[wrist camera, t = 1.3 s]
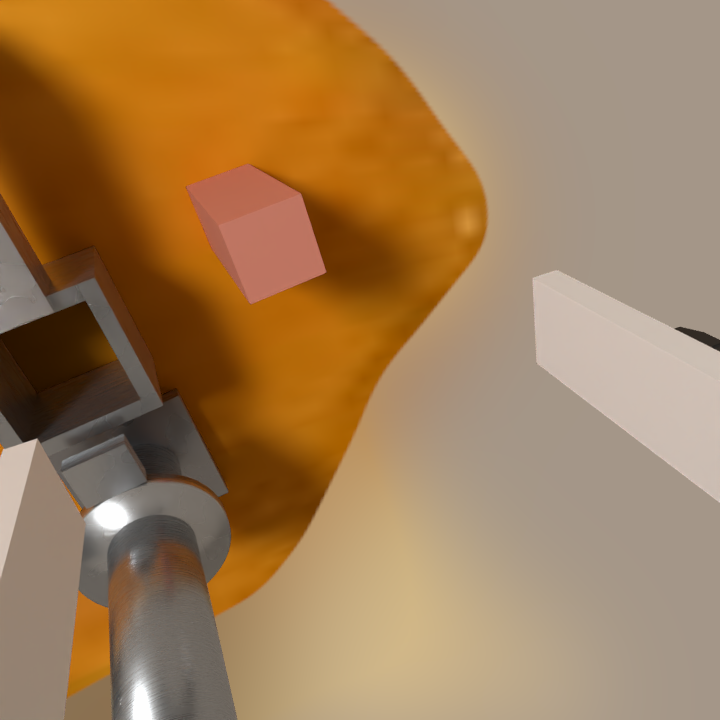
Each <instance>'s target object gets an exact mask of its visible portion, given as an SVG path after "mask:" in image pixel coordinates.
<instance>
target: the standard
mask: <svg viewBox="0 0 720 720" xmlns="http://www.w3.org/2000/svg"><path fill="white" fill-rule="evenodd" d="M161 397H162V401H163V406H161V407H159V408H157V409H154V410H152V411H150V412H148V413H145V414H143V415H141V416H138V417H136V418H134V419H132V420H129V421H127V422H125V423H123V424H120V425H118V426H116V427H114V428H111V429H109V430H107V431H104V432H102V433H100V434H98V435H95V436H93V437H91V438H89V439H86V440H84V441H82V442H79V443H77V444H75V445H73V446H70V447H68V448H66V449H64V450H61V451H59V452H57V453H54V454H52V455H50V456H48V458H49V460H50V462H51V463H52V465H53V467H54V469H55V470H56V472H57V474H58V475H59V477H60V478H61V479H62V481H63V482H64V484H65V485H66V486H67V488H68V489H69V491H70V492H71V494H72V495H73V496H74V498H75V499H76V501H77V502H78V504H79V505H80V506H81V508H82V510H81V512H80V514H81V516H82V518H83V520H84V522H85V523H86V525H85V534H84V543H83V552H82V561H81V570H80V579H79V588H78V589H79V591H80V592H81V593H82V594H83V595H85V596H86V597H87V598H89V599H90V600H92V601H94V602H95V603H97V604H100V605H102V606H105V607H108V608H109V639H110V672H111V704H112V720H237V716H236V712H235V707H234V703H233V698H232V694H231V689H230V685H229V681H228V676H227V672H226V667H225V663H224V659H223V654H222V650H221V645H220V641H219V637H218V632H217V627H216V623H215V618H214V614H213V610H212V605H211V601H210V596H209V592H208V587H207V583H208V582H209V581H210V580H211V579H212V578H213V577H214V576H215V574H216V573H217V572H218V570H219V569H220V568H221V566H222V564H223V563H224V561H225V559H226V556H227V554H228V551H229V547H230V541H231V530H230V525H229V521H228V518H227V514H226V511H225V509H224V506H223V504H222V502H221V501H220V499H219V498H218V497H220V496H222V495H224V494H226V493H228V489H227V486H226V483H225V481H224V479H223V477H222V475H221V473H220V471H219V469H218V468H217V466H216V464H215V462H214V460H213V458H212V456H211V454H210V452H209V450H208V448H207V446H206V444H205V442H204V440H203V438H202V437H201V435H200V433H199V431H198V429H197V427H196V425H195V423H194V421H193V419H192V417H191V415H190V413H189V411H188V409H187V407H186V406H185V404H184V402H183V400H182V398H181V396H180V394H179V392H178V390H177V389H175V390H172V391H170V392H168V393H165V394H163V395H161Z"/></svg>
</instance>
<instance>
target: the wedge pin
mask: <svg viewBox="0 0 720 720" xmlns="http://www.w3.org/2000/svg"><path fill="white" fill-rule="evenodd" d="M186 188H187V191H188V193H189V195H190V198H191V200H192V203H193V205H194V207H195V210H196V212H197V215H198V217H199V219H200V222H201V224H202V226H203V229H204V231H205V234H206V236H207V238H208V241H209V243H210V246H211V248H212V250H213V251H214V252H215V254H216V255H217V257H218V258H219V260H220V261H221V263H222V264H223V265H224V267H225V268H226V270H227V271H228V273H229V274H230V276H231V277H232V278H233V280H234V281H235V283H236V284H237V286H238V287H239V289H240V290H241V292H242V293H243V294H244V296H245V297H246V299H247V300H248V302H249V303H250V304H252V303H255V302H257V301H260V300H262V299H264V298H267V297H269V296H272V295H274V294H276V293H279V292H281V291H284V290H286V289H288V288H291V287H293V286H296V285H298V284H300V283H303V282H305V281H308V280H310V279H312V278H315V277H317V276H320V275H322V274H324V273H326V270H325V266H324V263H323V260H322V257H321V254H320V251H319V248H318V245H317V242H316V238H315V235H314V232H313V229H312V226H311V223H310V220H309V217H308V214H307V211H306V207H305V204H304V201H303V198H302V195H301V193H299V192H297V191H296V190H294V189H292V188H290V187H288V186H287V185H285V184H283V183H281V182H280V181H278V180H276V179H274V178H273V177H271V176H269V175H267V174H265V173H264V172H262V171H260V170H258V169H257V168H255V167H253V166H251V165H250V164H246V165H243V166H241V167H238V168H235V169H232V170H230V171H227V172H224V173H222V174H219V175H216V176H213V177H211V178H208V179H205V180H202V181H200V182H197V183H194V184H192V185H189V186H186Z"/></svg>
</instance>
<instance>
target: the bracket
mask: <svg viewBox="0 0 720 720" xmlns="http://www.w3.org/2000/svg"><path fill="white" fill-rule="evenodd" d="M85 300H86V302H87V304H88V306H89V308H90V309H91V311H92V313H93V315H94V316H95V318H96V320H97V322H98V324H99V325H100V327H101V329H102V331H103V333H104V334H105V336H106V338H107V340H108V341H109V343H110V345H111V347H112V349H113V350H114V352H115V354H116V356H117V358H118V360H116V361H113V362H111V363H108V364H106V365H104V366H101V367H99V368H96V369H94V370H92V371H89V372H87V373H85V374H82V375H80V376H77V377H75V378H73V379H70V380H68V381H65V382H63V383H61V384H58V385H56V386H53V387H51V388H49V389H46V390H44V391H41V392H39V393H36V391H35V390H34V388H33V387H32V385H31V384H30V382H29V381H28V379H27V378H26V376H25V375H24V373H23V372H22V370H21V369H20V367H19V366H18V364H17V363H16V361H15V360H14V358H13V357H12V355H11V354H10V352H9V351H8V349H7V348H6V346H5V345H4V343H3V342H2V340H1V339H0V443H1V445H2V446H3V447H4V449H7V448H10V447H13V446H16V445H19V444H22V443H25V442H28V441H31V440H34V439H38V440H39V442H40V444H41V446H42V447H43V449H44V451H45V453H46V454H47V456H50V455H52V454H54V453H57V452H59V451H61V450H64V449H66V448H68V447H70V446H73V445H75V444H77V443H79V442H82V441H84V440H86V439H89V438H91V437H93V436H95V435H98V434H100V433H102V432H104V431H107V430H109V429H111V428H114V427H116V426H118V425H120V424H123V423H125V422H127V421H129V420H132V419H134V418H136V417H138V416H141V415H143V414H145V413H148V412H150V411H152V410H154V409H157V408H159V407H161V406H163V401H162V397H161V392H160V387H159V383H158V378H157V373H156V369H155V364H154V360H153V357H152V355H151V353H150V351H149V349H148V348H147V346H146V344H145V342H144V340H143V338H142V336H141V334H140V332H139V330H138V329H137V327H136V325H135V323H134V321H133V319H132V317H131V315H130V313H129V311H128V309H127V308H126V306H125V304H124V302H123V300H122V298H121V296H120V294H119V292H118V290H117V288H116V287H115V285H114V283H113V281H112V279H111V277H110V275H109V273H108V271H107V269H106V267H105V266H104V264H103V262H102V260H101V258H100V256H99V254H98V252H97V250H96V248H95V247H94V246H92V247H89V248H87V249H84V250H81V251H79V252H76V253H73V254H71V255H68V256H66V257H63V258H60V259H58V260H55V261H52V262H50V263H47V264H44V265H42V264H41V262H40V261H39V259H38V257H37V256H36V254H35V252H34V250H33V249H32V247H31V245H30V244H29V242H28V240H27V238H26V237H25V235H24V233H23V231H22V230H21V228H20V226H19V225H18V223H17V221H16V219H15V218H14V216H13V214H12V213H11V211H10V209H9V207H8V206H7V204H6V202H5V201H4V199H3V197H2V195H1V194H0V334H1V333H4V332H7V331H9V330H12V329H14V328H17V327H19V326H22V325H24V324H27V323H29V322H32V321H35V320H37V319H40V318H42V317H45V316H47V315H50V314H52V313H55V312H57V311H60V310H63V309H65V308H68V307H70V306H73V305H75V304H78V303H80V302H83V301H85Z"/></svg>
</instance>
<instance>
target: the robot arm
mask: <svg viewBox="0 0 720 720" xmlns="http://www.w3.org/2000/svg"><path fill="white" fill-rule="evenodd" d="M533 298H534V319H535V340H536V361H537V364H538V365H539V366H541V367H542V368H543V369H545V370H546V371H547V372H549V373H550V374H551V375H553V376H554V377H555V378H557V379H558V380H559V381H561V382H562V383H563V384H564V385H566V386H567V387H568V388H570V389H571V390H572V391H574V392H575V393H576V394H578V395H579V396H580V397H581V398H583V399H584V400H585V401H587V402H588V403H590V404H591V405H592V406H593V407H595V408H596V409H598V410H599V411H600V412H601V413H603V414H604V415H605V416H606V417H608V418H609V419H610V420H612V421H613V422H614V423H616V424H617V425H619V426H620V427H621V428H622V429H624V430H625V431H626V432H627V433H629V434H630V435H631V436H633V437H634V438H635V439H637V440H638V441H639V442H641V443H642V444H643V445H645V446H646V447H647V448H649V449H650V450H651V451H652V452H654V453H655V454H656V455H658V456H659V457H661V458H662V459H663V460H664V461H666V462H667V463H668V464H670V465H671V466H672V467H674V468H675V469H676V470H678V471H679V472H680V473H681V474H683V475H684V476H685V477H687V478H688V479H689V480H691V481H692V482H693V483H694V484H696V485H697V486H698V487H700V488H701V489H702V490H704V491H705V492H706V493H708V494H709V495H710V496H712V497H713V498H714V499H715V500H717V501H718V502H720V340H719V339H717V338H715V337H712V336H710V335H708V334H706V333H704V332H700V331H696V330H691V329H687V328H683V327H678V328H675V329H673V328H671V327H669V326H667V325H666V324H664V323H662V322H659V321H657V320H656V319H654V318H652V317H650V316H648V315H645V314H643V313H642V312H639V311H638V310H636V309H634V308H631V307H630V306H628V305H626V304H624V303H621V302H620V301H618V300H616V299H614V298H612V297H610V296H608V295H606V294H604V293H602V292H600V291H598V290H596V289H594V288H592V287H590V286H588V285H586V284H584V283H582V282H580V281H578V280H576V279H574V278H572V277H570V276H568V275H566V274H564V273H562V272H560V271H558V270H556V271H552V272H549V273H546V274H543V275H540V276H537V277H534V278H533ZM85 525H86V523H85V522H84V520H83V518H82V516H81V514H80V513H79V511H78V509H77V507H76V506H75V504H74V502H73V500H72V499H71V497H70V495H69V493H68V492H67V490H66V488H65V486H64V484H63V483H62V481H61V479H60V477H59V476H58V474H57V472H56V470H55V469H54V467H53V465H52V463H51V462H50V460H49V458H48V456H47V454H46V453H45V451H44V449H43V447H42V446H41V444H40V442H39V440H38V439H34V440H31V441H28V442H25V443H22V444H19V445H16V446H13V447H10V448H7V449H4V450H3V451H2V454H1V457H0V720H64V715H65V706H66V697H67V688H68V679H69V670H70V661H71V652H72V643H73V634H74V625H75V616H76V607H77V598H78V588H79V579H80V570H81V561H82V552H83V543H84V534H85Z"/></svg>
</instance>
